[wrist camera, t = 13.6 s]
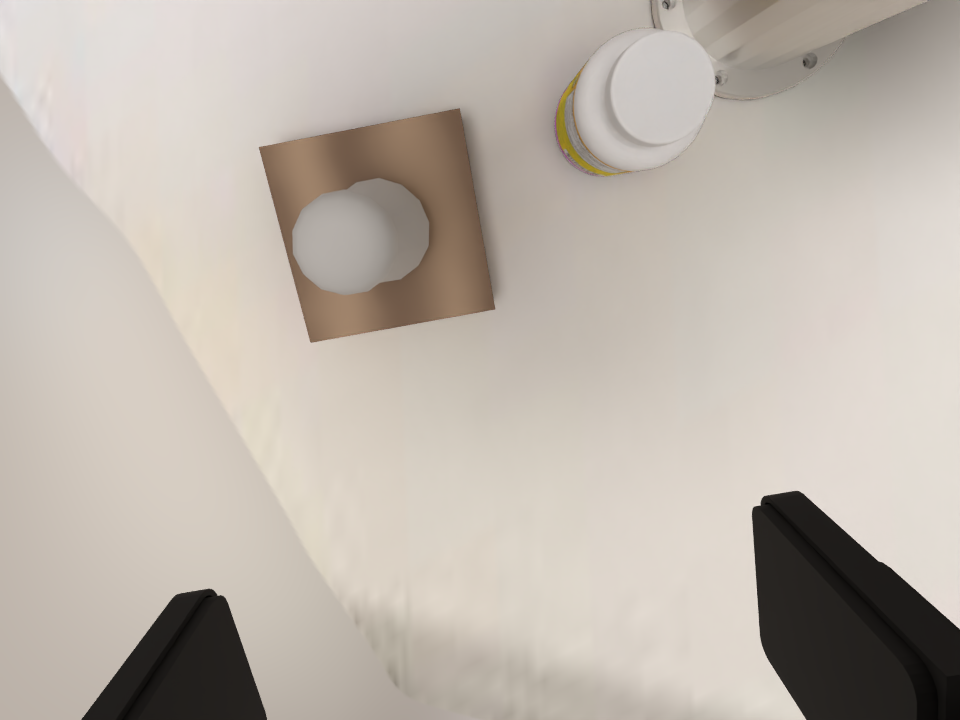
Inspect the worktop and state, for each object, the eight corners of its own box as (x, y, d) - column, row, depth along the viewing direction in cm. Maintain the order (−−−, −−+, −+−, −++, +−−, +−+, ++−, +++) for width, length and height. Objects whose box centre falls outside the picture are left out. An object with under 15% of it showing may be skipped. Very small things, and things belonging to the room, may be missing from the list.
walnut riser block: (460, 117, 38) (459, 108, 34) (493, 298, 41) (495, 309, 38) (280, 152, 39) (258, 147, 35) (325, 329, 42) (310, 342, 38)
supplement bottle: (648, 57, 38) (734, -12, 25) (659, 165, 39) (746, 151, 27) (543, 79, 38) (578, 21, 25) (560, 186, 40) (600, 180, 27)
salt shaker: (376, 295, 37) (327, 344, 25) (317, 219, 36) (234, 230, 23) (451, 239, 36) (440, 262, 24) (394, 159, 35) (350, 138, 23)
